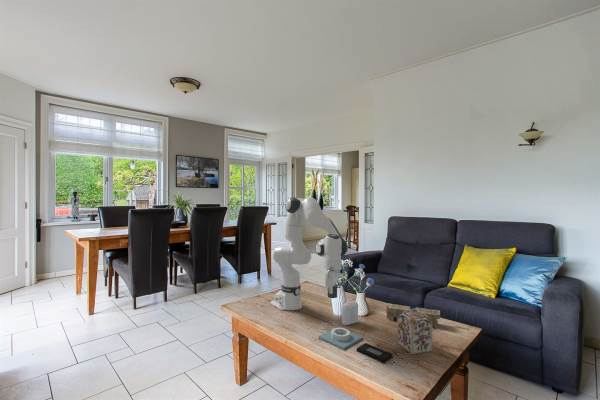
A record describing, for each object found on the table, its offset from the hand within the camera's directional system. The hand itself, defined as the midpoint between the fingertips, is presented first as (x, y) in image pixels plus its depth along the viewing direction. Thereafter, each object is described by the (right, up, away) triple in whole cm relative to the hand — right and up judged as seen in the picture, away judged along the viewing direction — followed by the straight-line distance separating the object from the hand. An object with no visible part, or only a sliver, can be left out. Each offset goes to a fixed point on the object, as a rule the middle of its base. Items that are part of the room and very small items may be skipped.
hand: (332, 291), depth 157 cm
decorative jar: (+38, -23, -13) cm, 46 cm away
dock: (+4, -22, -5) cm, 23 cm away
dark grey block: (0, -3, 0) cm, 3 cm away
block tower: (+48, -23, +17) cm, 56 cm away
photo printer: (+12, -23, +14) cm, 29 cm away
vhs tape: (+17, -24, -20) cm, 35 cm away
